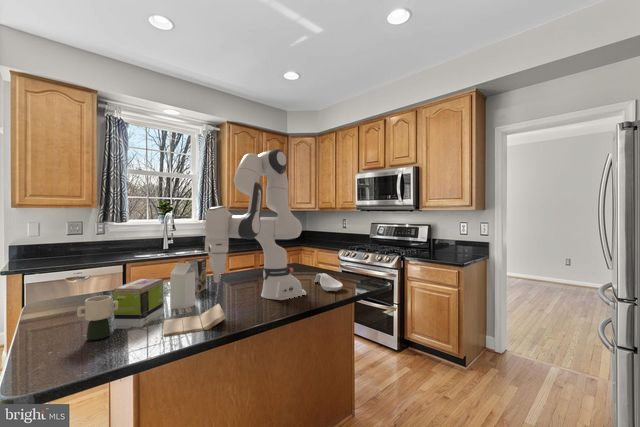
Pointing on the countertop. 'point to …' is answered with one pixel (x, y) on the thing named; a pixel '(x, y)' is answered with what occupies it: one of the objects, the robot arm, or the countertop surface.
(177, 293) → the milk carton
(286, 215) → the robot arm
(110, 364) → the countertop surface
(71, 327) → the countertop surface
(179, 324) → the laid floor
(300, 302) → the countertop surface
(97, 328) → the character mug
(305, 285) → the countertop surface
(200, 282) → the coffee box
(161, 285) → the tea box
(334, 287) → the spoon rest
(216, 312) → the board
